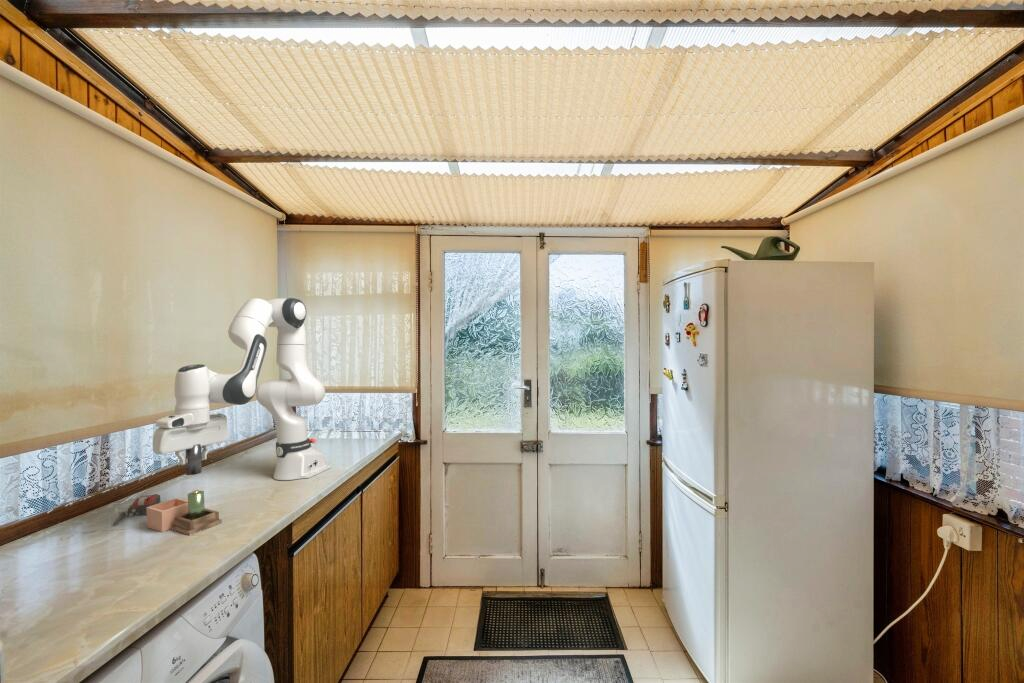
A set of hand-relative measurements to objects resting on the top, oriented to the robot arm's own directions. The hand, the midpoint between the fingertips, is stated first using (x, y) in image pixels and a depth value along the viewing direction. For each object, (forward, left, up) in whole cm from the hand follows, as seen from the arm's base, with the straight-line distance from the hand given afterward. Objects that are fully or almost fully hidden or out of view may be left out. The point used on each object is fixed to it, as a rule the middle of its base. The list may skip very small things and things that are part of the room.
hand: (193, 462), depth 137 cm
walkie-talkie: (+4, -24, -19) cm, 30 cm away
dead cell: (0, 0, -3) cm, 3 cm away
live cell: (+2, +5, -17) cm, 18 cm away
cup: (+5, -4, -18) cm, 19 cm away
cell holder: (+2, +5, -18) cm, 19 cm away
